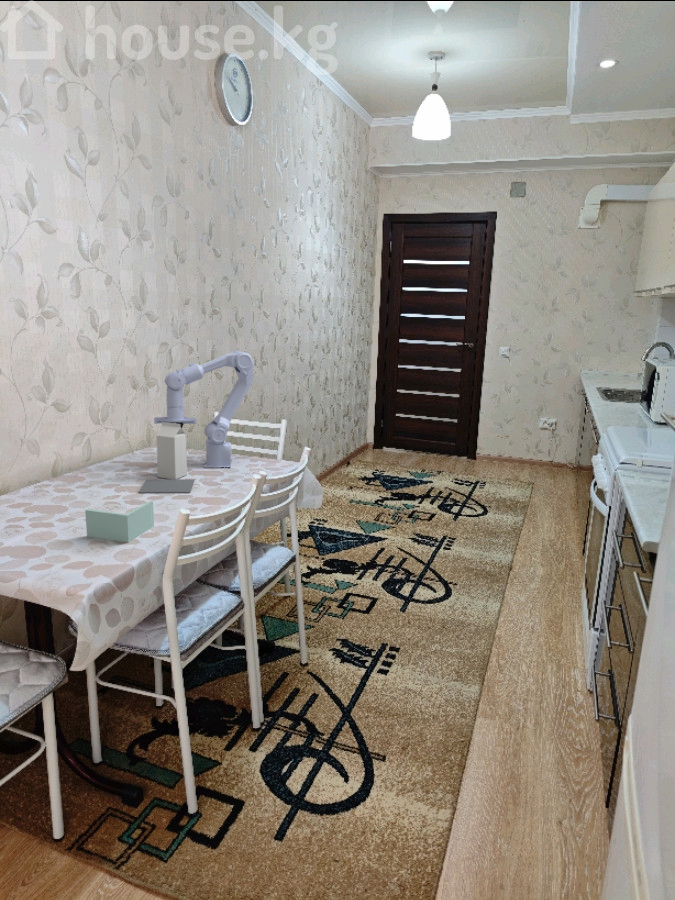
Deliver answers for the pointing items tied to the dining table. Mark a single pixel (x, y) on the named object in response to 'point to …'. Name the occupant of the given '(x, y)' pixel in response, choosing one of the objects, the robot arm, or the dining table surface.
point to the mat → (167, 486)
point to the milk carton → (171, 451)
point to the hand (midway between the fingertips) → (176, 443)
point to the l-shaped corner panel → (119, 523)
